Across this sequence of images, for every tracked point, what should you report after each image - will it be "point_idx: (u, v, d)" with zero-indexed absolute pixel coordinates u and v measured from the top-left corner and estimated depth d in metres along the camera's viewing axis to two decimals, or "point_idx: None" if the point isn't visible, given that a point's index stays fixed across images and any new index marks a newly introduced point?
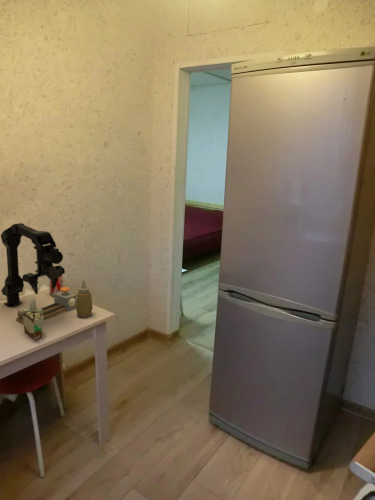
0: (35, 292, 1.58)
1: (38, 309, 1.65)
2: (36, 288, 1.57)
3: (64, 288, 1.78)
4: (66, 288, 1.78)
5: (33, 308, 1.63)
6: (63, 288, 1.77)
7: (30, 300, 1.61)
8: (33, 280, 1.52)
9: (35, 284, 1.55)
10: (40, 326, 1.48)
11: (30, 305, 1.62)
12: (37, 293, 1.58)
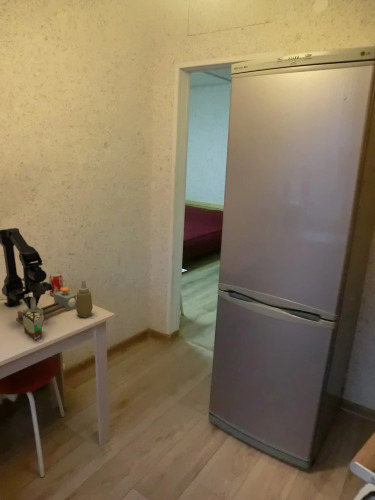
0: (28, 307, 1.62)
1: (38, 309, 1.65)
2: (29, 303, 1.61)
3: (64, 288, 1.78)
4: (66, 288, 1.78)
5: (33, 308, 1.63)
6: (63, 288, 1.77)
7: (30, 300, 1.61)
8: (20, 298, 1.54)
9: (28, 299, 1.59)
10: (40, 326, 1.48)
11: None
12: (30, 308, 1.62)
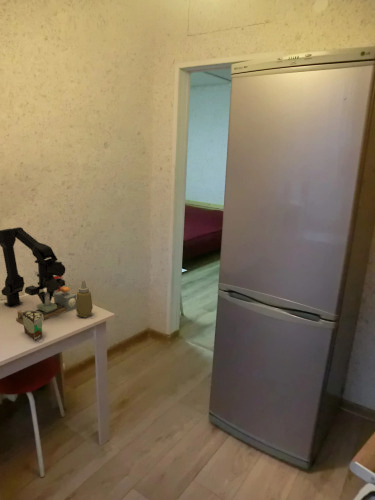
0: (42, 302, 1.68)
1: (52, 304, 1.71)
2: (43, 298, 1.67)
3: (64, 288, 1.78)
4: (66, 288, 1.78)
5: (47, 303, 1.69)
6: (63, 288, 1.77)
7: (44, 295, 1.68)
8: (35, 293, 1.60)
9: (42, 294, 1.65)
10: (40, 326, 1.48)
11: None
12: (44, 303, 1.68)
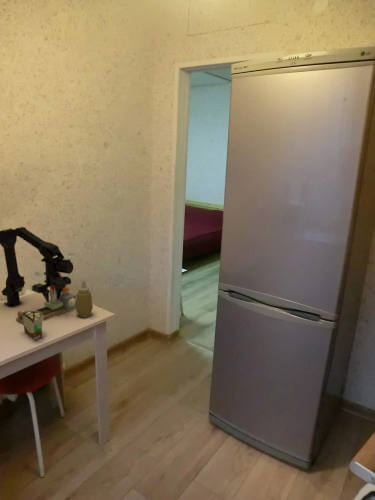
0: (46, 300, 1.70)
1: (58, 301, 1.74)
2: (47, 296, 1.69)
3: (64, 288, 1.78)
4: (66, 288, 1.78)
5: (54, 300, 1.72)
6: (63, 289, 1.77)
7: (52, 293, 1.71)
8: (42, 290, 1.63)
9: (47, 293, 1.67)
10: (40, 326, 1.48)
11: (51, 298, 1.72)
12: (48, 301, 1.70)
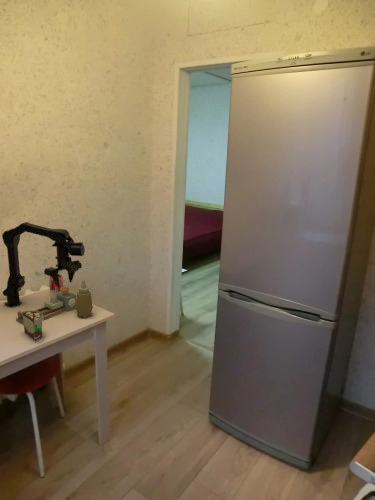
0: (57, 284, 1.73)
1: (58, 301, 1.74)
2: (58, 281, 1.72)
3: (64, 288, 1.78)
4: (66, 288, 1.78)
5: (54, 300, 1.72)
6: (63, 288, 1.77)
7: (52, 293, 1.71)
8: (54, 274, 1.67)
9: (57, 277, 1.71)
10: (40, 326, 1.48)
11: (51, 298, 1.72)
12: (58, 285, 1.74)
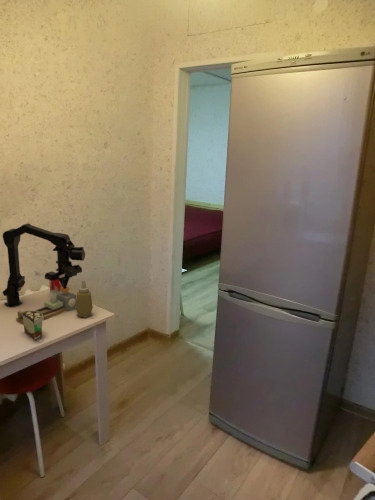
0: (63, 287, 1.77)
1: (58, 301, 1.74)
2: (64, 283, 1.76)
3: None
4: (66, 288, 1.78)
5: (54, 300, 1.72)
6: (63, 288, 1.77)
7: (52, 293, 1.71)
8: (55, 278, 1.68)
9: (63, 279, 1.74)
10: (40, 326, 1.48)
11: (51, 298, 1.72)
12: (65, 287, 1.77)
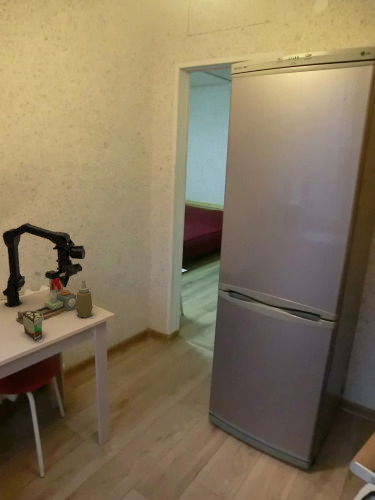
0: (63, 285, 1.77)
1: (58, 301, 1.74)
2: (64, 282, 1.76)
3: (64, 291, 1.78)
4: (66, 291, 1.79)
5: (54, 300, 1.72)
6: (64, 292, 1.78)
7: (52, 293, 1.71)
8: (55, 277, 1.68)
9: (64, 278, 1.74)
10: (40, 326, 1.48)
11: (51, 298, 1.72)
12: (65, 286, 1.77)
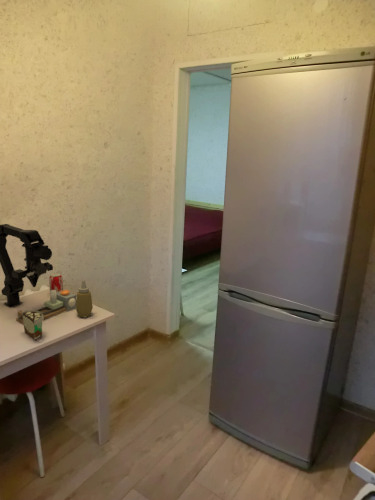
0: (32, 285, 1.70)
1: (58, 301, 1.74)
2: (33, 281, 1.69)
3: (64, 291, 1.78)
4: (66, 291, 1.79)
5: (54, 300, 1.72)
6: (64, 292, 1.78)
7: (52, 293, 1.71)
8: (22, 276, 1.61)
9: (32, 277, 1.67)
10: (40, 326, 1.48)
11: (51, 298, 1.72)
12: (34, 286, 1.70)
